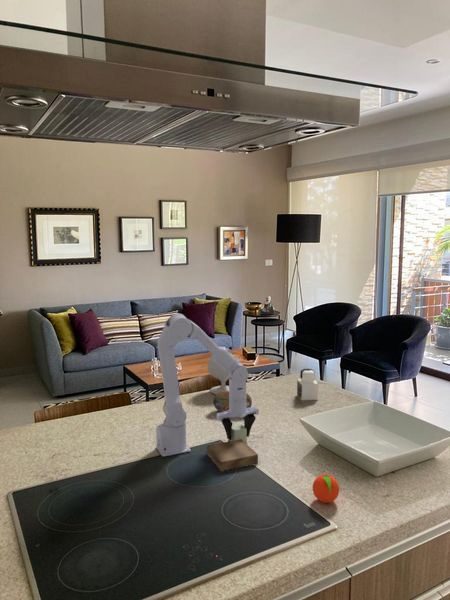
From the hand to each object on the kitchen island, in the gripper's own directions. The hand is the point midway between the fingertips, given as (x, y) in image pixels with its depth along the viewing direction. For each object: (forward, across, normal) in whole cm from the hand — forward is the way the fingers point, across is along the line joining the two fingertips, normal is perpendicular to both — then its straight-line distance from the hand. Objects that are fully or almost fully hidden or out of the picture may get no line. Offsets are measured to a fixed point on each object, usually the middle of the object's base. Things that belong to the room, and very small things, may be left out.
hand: (238, 437), depth 167 cm
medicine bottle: (+2, +44, +27) cm, 52 cm away
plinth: (+1, -7, -11) cm, 13 cm away
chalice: (+2, +15, +49) cm, 51 cm away
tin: (+2, +9, +25) cm, 27 cm away
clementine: (+2, +6, -43) cm, 43 cm away
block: (+2, 0, 0) cm, 2 cm away
